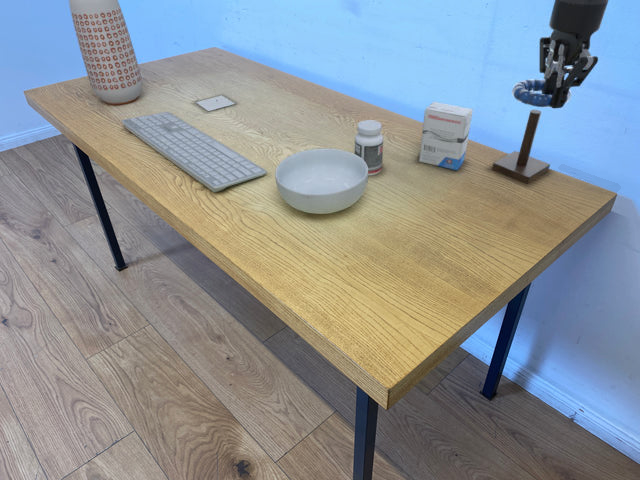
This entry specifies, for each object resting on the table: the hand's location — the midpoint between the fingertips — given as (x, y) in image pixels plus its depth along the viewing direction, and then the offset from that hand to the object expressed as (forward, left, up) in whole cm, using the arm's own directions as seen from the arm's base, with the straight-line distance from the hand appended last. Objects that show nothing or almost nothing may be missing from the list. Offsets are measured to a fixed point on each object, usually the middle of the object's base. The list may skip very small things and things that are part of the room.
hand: (551, 103), depth 84 cm
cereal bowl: (+21, +36, -16) cm, 45 cm away
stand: (+3, -2, -16) cm, 16 cm away
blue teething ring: (+3, -2, +1) cm, 4 cm away
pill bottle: (+24, +21, -16) cm, 36 cm away
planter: (+99, +44, -16) cm, 110 cm away
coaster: (+78, +26, -16) cm, 84 cm away
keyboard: (+58, +45, -16) cm, 75 cm away
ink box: (+16, +7, -16) cm, 24 cm away
